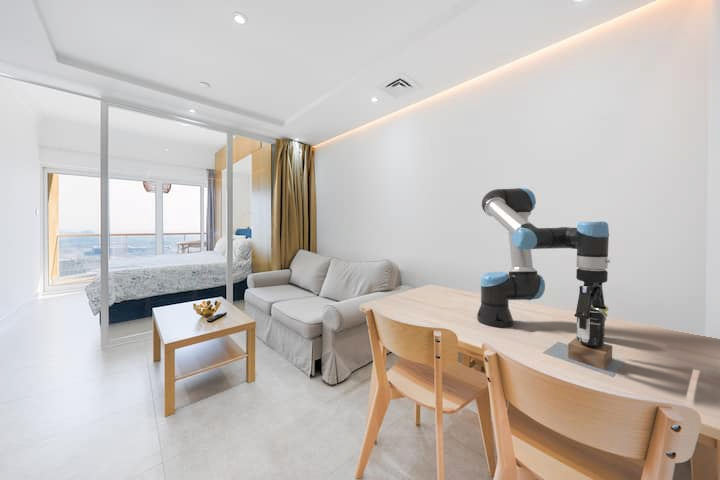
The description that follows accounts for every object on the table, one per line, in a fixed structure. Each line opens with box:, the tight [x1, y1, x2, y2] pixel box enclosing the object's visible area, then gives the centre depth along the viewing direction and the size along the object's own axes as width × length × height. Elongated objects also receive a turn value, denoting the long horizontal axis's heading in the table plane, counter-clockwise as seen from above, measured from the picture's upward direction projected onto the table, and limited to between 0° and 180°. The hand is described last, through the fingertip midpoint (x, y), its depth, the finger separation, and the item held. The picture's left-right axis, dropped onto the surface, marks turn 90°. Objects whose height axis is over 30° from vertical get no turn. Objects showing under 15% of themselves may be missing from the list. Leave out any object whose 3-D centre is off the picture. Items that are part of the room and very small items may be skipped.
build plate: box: [542, 341, 626, 378], centre depth 87 cm, size 18×14×1 cm
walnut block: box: [567, 336, 613, 370], centre depth 85 cm, size 9×9×5 cm
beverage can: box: [576, 307, 606, 348], centre depth 84 cm, size 7×7×12 cm
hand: (590, 332), depth 84 cm, fingers open, 13 cm apart
